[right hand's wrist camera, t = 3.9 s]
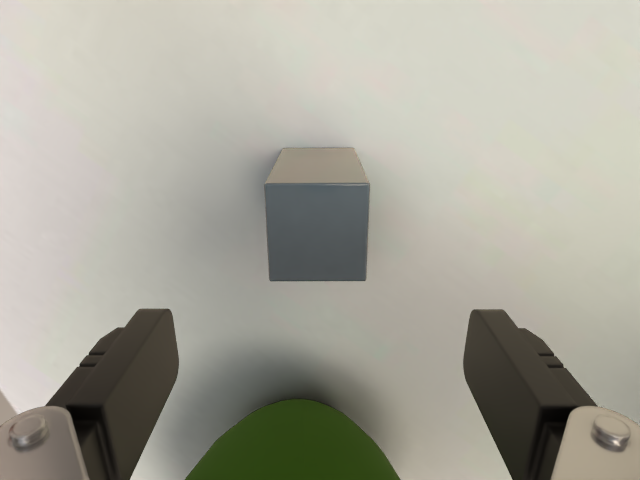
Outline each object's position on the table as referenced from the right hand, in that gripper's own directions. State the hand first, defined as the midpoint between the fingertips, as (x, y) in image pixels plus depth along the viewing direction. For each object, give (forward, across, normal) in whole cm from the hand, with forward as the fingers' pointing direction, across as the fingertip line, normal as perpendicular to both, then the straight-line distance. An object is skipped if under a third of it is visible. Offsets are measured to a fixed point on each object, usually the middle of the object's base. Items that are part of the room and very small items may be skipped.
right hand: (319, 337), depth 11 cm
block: (+18, 0, 0) cm, 18 cm away
